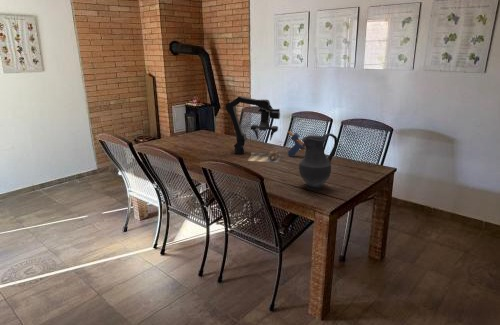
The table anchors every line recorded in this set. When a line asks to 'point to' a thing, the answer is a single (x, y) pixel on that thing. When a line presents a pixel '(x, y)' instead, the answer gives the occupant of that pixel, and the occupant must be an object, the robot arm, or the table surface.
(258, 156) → the board
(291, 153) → the glue gun
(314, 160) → the pitcher
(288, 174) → the table surface
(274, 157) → the brown block with peg
